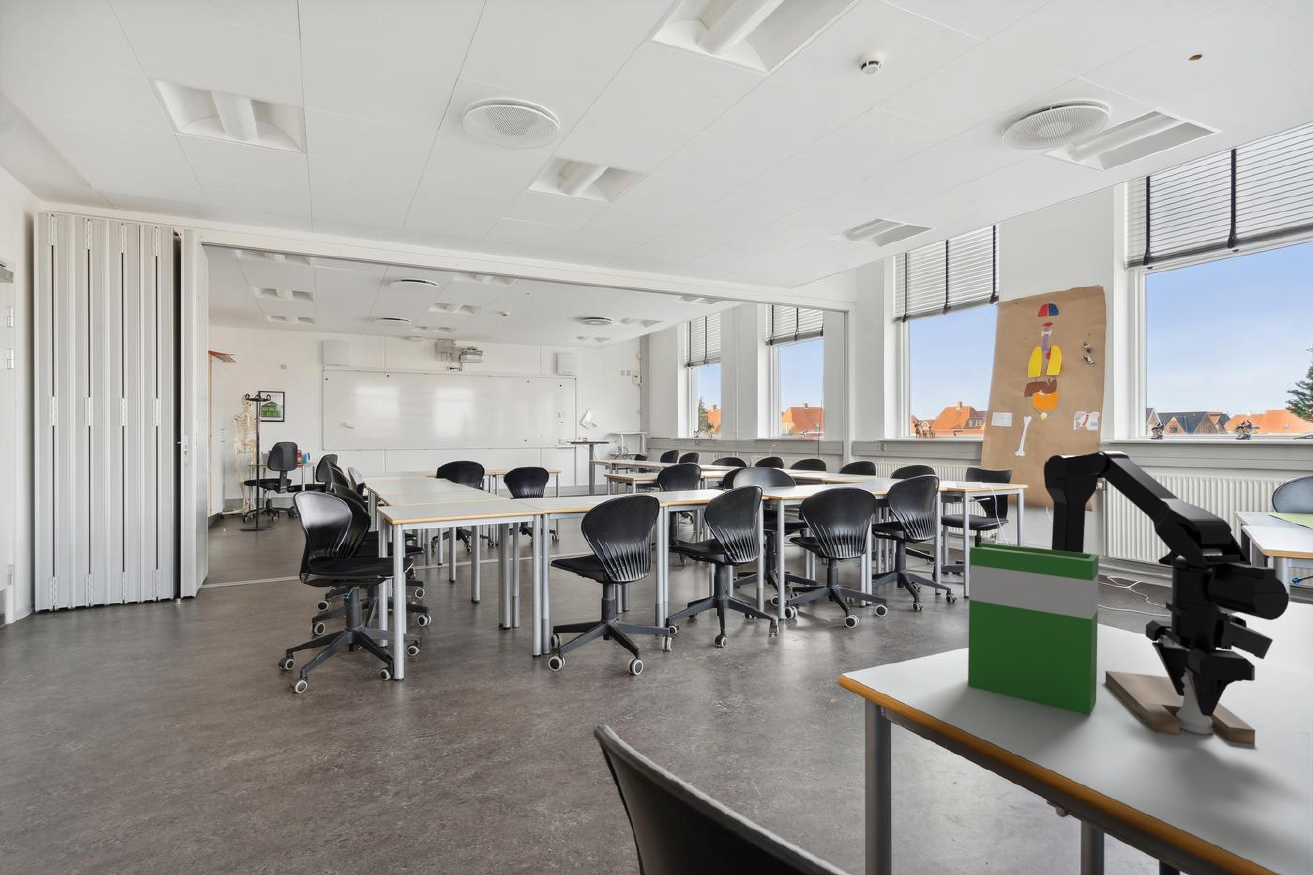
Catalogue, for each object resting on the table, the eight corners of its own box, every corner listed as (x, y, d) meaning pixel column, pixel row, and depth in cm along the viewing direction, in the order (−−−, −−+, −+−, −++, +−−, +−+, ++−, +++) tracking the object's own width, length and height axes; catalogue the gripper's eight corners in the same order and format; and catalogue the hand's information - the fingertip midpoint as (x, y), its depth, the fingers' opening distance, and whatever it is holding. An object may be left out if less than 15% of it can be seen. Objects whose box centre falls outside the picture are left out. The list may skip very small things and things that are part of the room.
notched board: (1154, 731, 96) (1154, 718, 96) (1105, 682, 115) (1105, 670, 115) (1254, 743, 92) (1255, 729, 92) (1186, 690, 111) (1187, 678, 111)
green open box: (967, 686, 112) (970, 547, 112) (979, 674, 118) (981, 542, 118) (1090, 716, 101) (1092, 561, 101) (1096, 701, 107) (1098, 554, 106)
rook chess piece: (1198, 722, 99) (1200, 670, 99) (1221, 736, 95) (1222, 681, 95) (1167, 721, 99) (1168, 668, 99) (1188, 734, 95) (1189, 680, 95)
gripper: (1305, 623, 85) (1302, 741, 86) (1228, 590, 103) (1225, 688, 103) (1202, 615, 89) (1200, 729, 89) (1145, 584, 107) (1143, 679, 107)
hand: (1193, 705), depth 97 cm, fingers open, 7 cm apart
